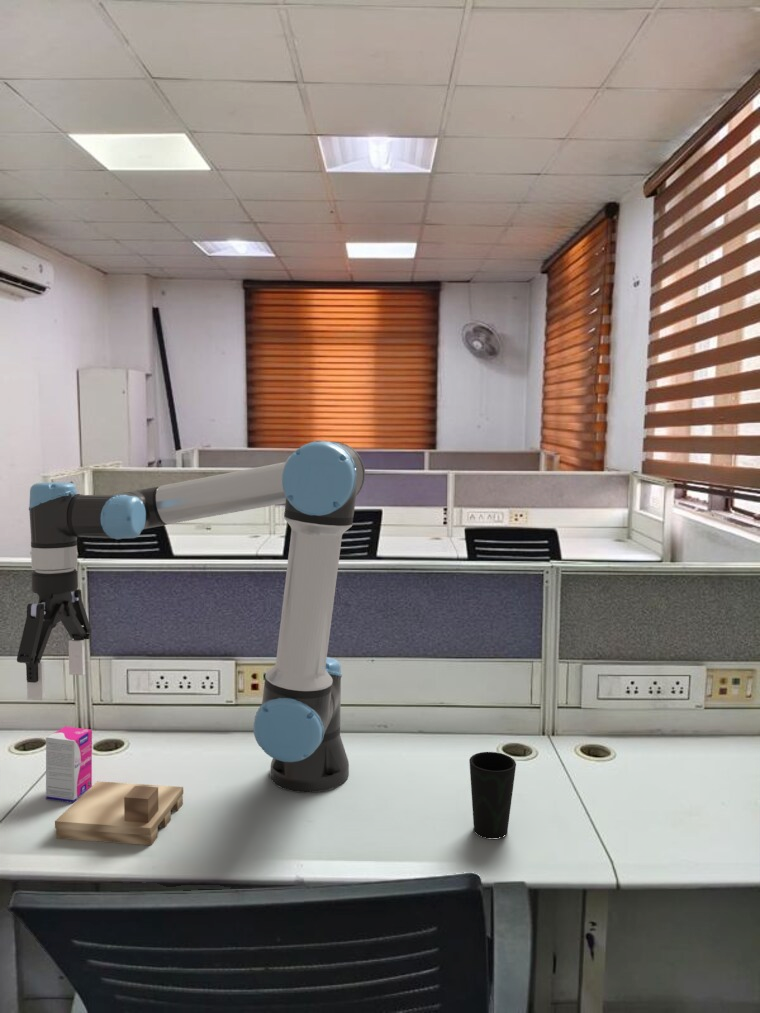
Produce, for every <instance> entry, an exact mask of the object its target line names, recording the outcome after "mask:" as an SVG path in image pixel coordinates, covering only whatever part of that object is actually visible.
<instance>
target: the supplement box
mask: <svg viewBox="0 0 760 1013" xmlns="http://www.w3.org/2000/svg"><path fill="white" fill-rule="evenodd" d="M92 745H93V729H89V728H80V727H73V726H72V727H71V726H67V725H65V726H64V727H62V728H60V729H59V730H57V731H55V732H54V733H52V734H50V735H48V736H46V737H45V800H48V801H56V802H57V801H58V802H63V803H72V804H74V803H75V802H76V801H77V800H78V799H79V798H80V797H81V796H82V795H83V794H84V793H85V792H86V791H87V790H89V789H90V788H91V787H92V786H93V785H92V784H93V781H92V780H93V778H92V777H93V775H92V774H93V746H92Z"/></svg>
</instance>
